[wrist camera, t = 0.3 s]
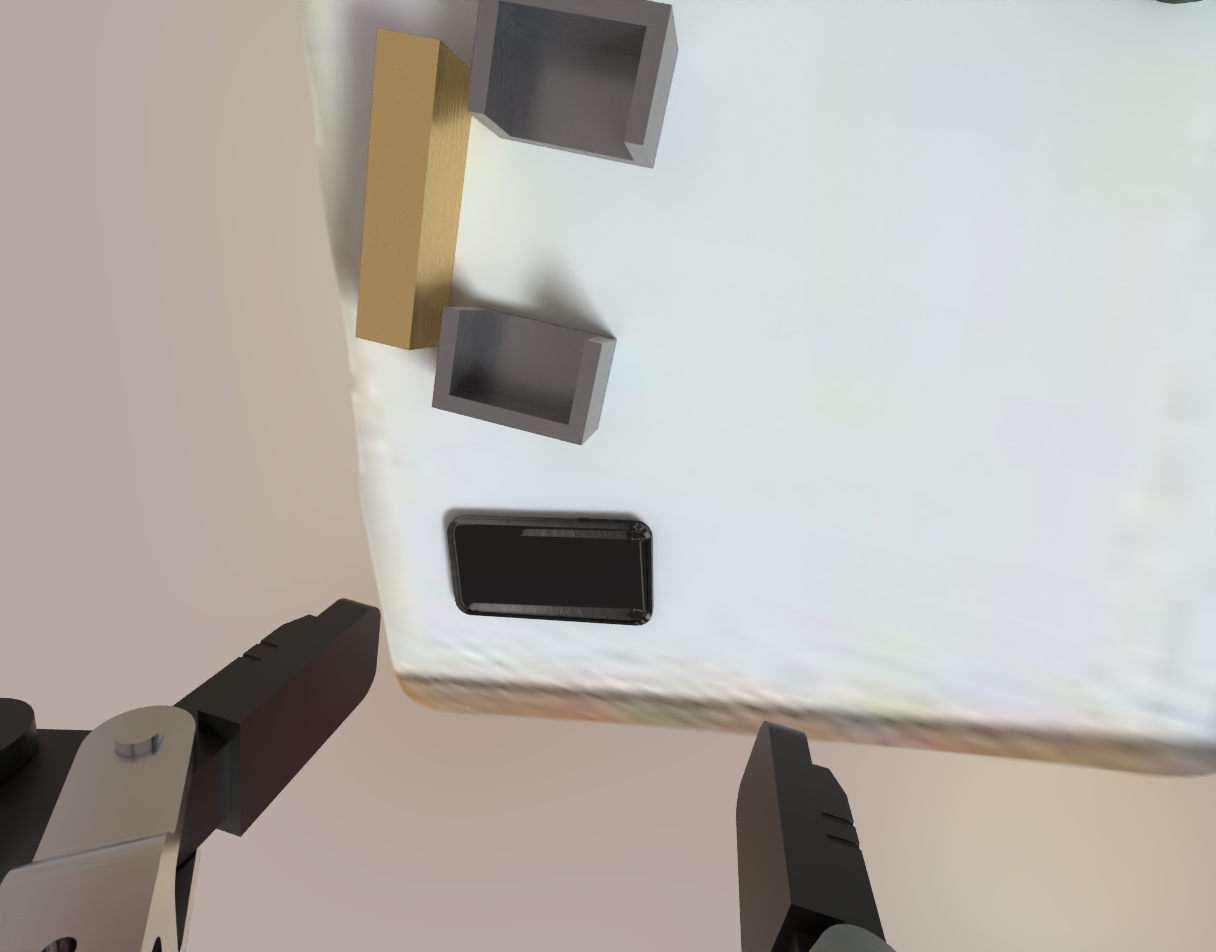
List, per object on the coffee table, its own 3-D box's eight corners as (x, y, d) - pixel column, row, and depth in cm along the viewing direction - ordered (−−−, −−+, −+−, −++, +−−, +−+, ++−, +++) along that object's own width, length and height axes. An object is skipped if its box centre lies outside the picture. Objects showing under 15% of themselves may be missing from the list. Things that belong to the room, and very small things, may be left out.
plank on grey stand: (515, 21, 33) (482, -28, 28) (678, 50, 32) (671, 5, 27) (465, 395, 40) (431, 407, 35) (597, 428, 39) (581, 445, 34)
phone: (652, 626, 41) (456, 614, 44) (653, 618, 42) (462, 607, 45) (651, 523, 39) (445, 517, 42) (652, 517, 40) (451, 512, 43)
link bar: (423, 66, 35) (377, 28, 30) (477, 76, 34) (439, 39, 29) (398, 333, 39) (355, 336, 35) (445, 345, 39) (408, 350, 34)
